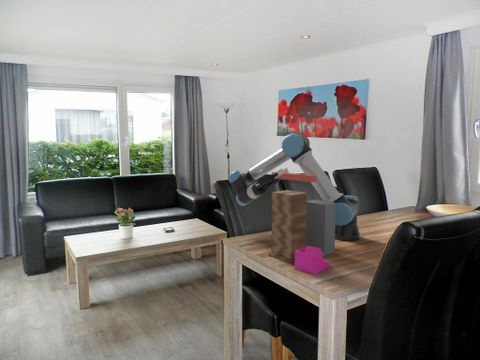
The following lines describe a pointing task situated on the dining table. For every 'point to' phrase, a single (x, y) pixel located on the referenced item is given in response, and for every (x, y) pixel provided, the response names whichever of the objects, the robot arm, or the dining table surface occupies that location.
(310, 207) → the block
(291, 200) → the tower
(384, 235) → the dining table surface
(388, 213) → the dining table surface
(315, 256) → the bracket
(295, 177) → the lever bar
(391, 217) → the dining table surface
